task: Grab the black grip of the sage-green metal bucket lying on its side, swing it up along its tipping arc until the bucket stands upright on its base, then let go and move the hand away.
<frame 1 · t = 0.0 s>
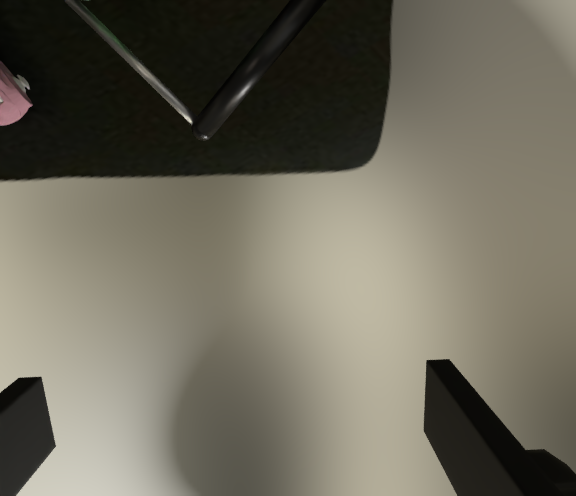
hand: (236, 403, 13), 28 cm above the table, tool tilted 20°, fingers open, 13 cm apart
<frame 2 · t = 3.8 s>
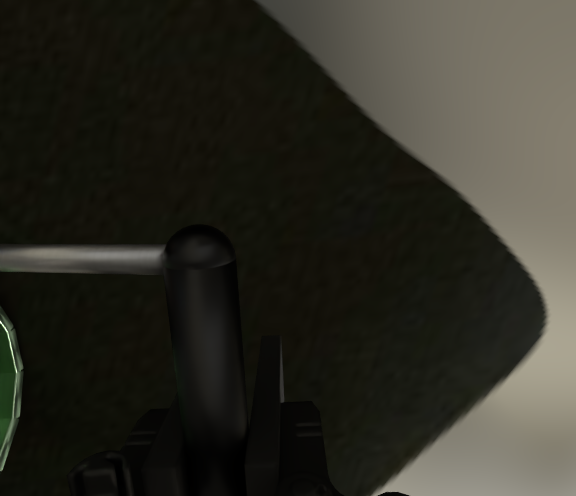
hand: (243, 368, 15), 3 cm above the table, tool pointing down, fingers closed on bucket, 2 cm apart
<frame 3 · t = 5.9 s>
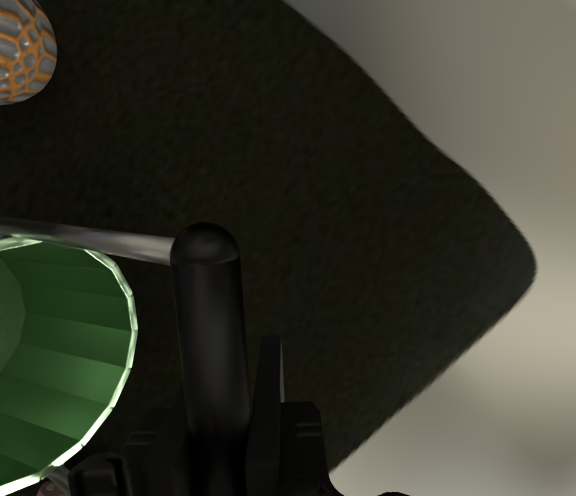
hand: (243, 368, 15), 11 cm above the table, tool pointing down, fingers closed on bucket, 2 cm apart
video game controller: (123, 486, 29), on the table
vase: (20, 52, 22), on the table
bucket: (57, 361, 16), point 10 cm above the table, hinge at 65.8°, touching gripper
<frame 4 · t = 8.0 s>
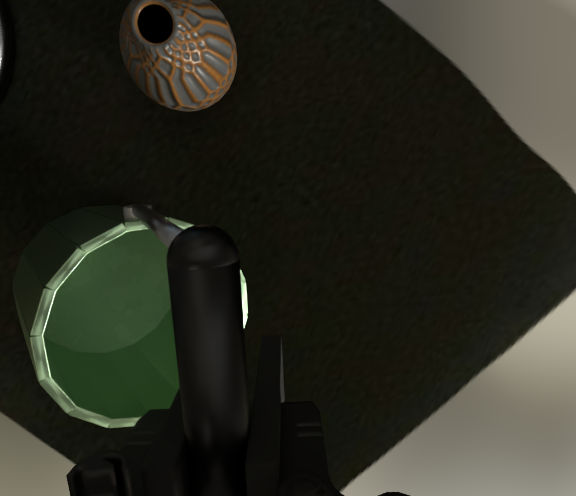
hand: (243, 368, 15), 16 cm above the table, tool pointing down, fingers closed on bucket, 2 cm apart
vase: (195, 67, 27), on the table
bucket: (166, 329, 19), point 12 cm above the table, hinge at 38.4°, touching gripper
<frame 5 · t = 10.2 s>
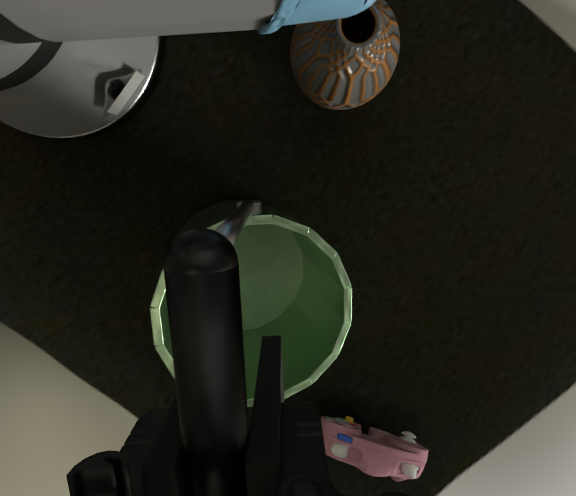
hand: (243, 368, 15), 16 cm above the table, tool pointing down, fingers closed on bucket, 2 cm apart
video game controller: (357, 427, 35), on the table
vase: (335, 67, 28), on the table
bucket: (260, 322, 20), point 12 cm above the table, hinge at 12.1°, touching gripper
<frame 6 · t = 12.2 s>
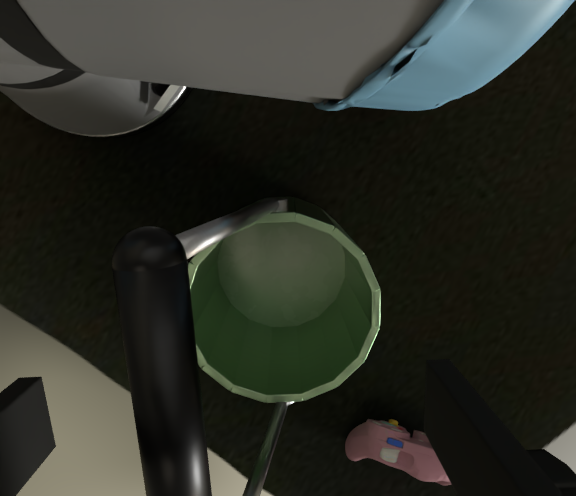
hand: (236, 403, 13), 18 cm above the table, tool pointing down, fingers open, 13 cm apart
video game controller: (400, 430, 34), on the table
bucket: (279, 320, 20), point 11 cm above the table, hinge at -0.1°
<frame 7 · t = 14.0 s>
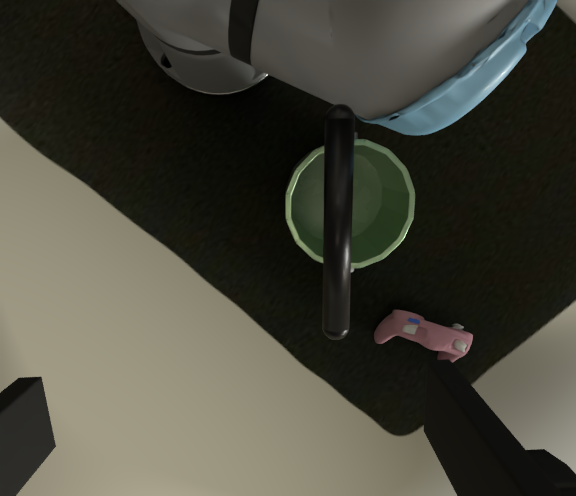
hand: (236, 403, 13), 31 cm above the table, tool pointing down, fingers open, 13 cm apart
video game controller: (415, 327, 46), on the table
bucket: (351, 207, 31), point 11 cm above the table, hinge at -0.1°
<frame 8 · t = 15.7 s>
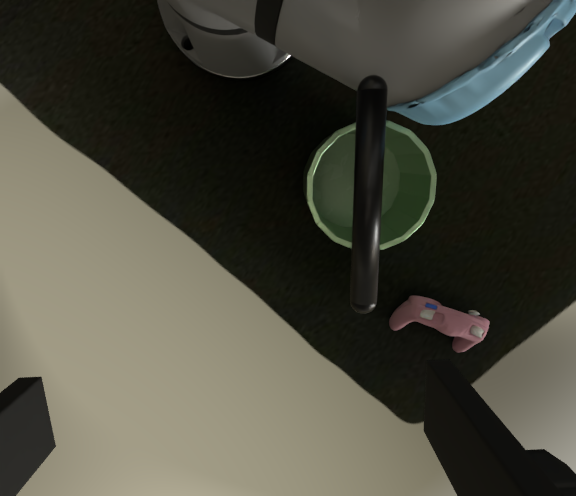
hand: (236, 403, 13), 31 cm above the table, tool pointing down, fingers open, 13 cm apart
video game controller: (430, 314, 46), on the table
bucket: (373, 188, 31), point 11 cm above the table, hinge at -0.5°, touching arm
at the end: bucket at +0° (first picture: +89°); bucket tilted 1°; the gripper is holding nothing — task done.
